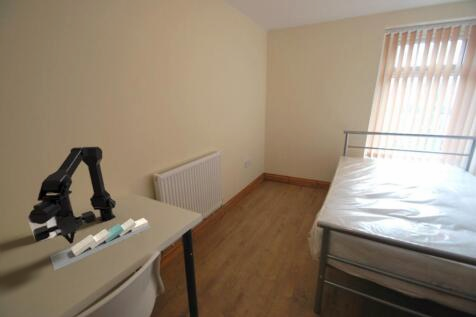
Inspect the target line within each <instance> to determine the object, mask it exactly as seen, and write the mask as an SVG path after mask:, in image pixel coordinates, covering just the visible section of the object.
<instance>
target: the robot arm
mask: <svg viewBox="0 0 476 317" xmlns="http://www.w3.org/2000/svg"><path fill="white" fill-rule="evenodd" d="M102 160H103V150H102V148H101V147H99V146H83V147H82V146H79V147H77V146H76V147H72V148H71V149H70V152H69V154H68V155H67V157H66V158H65V159H64V161H63V162H62V164H61V165H60V166H59V167H58V169H57V170H56V171H55V172H52V173H50V174H49V175H48V176H46V178H45V179H44V180H43V181H42V182H41V186H40V189H39V192H38V196H37V201H38V202H39V203H36V204H35V205H33V209H32V210H31V211H30V212H29V215H28V216H29V217H30V219H31V220H32V221H33V222H34V223H37V224H44V223H46V222H47V221H49V220H50V219H51V218H53V217H54V218H55V221H56V226H53V227H50V228H47V225H45V226H42V227H39V228H36V229H34V231H33V233H34V236H33V238H34V237H35V239H34V240H35V242H37V243H38V242H39V241H40V242H42V241H41V240H44V239H47V238H48V237H49V236H50V234H49V233H51V232H54V231H55V232H56V235H55V236H57V237H60V236H62V237H63V238H64V239H65V240H66V241H67V242H69V244H74V240H75V234H76V232H78V230H79V229H80V228H81V227H82V226H83V225H84V223H85V224H87V225H89V224H91V223H94V222H96V221H97V218H96V214H95V213H94V211H99V215H100V216H98V219H99V221H100V222H101V223H105V222H108V221H110V220H113V219H116V218H117V217H116V215H115V214H114V212H113V209H115V208H116V204H117V203H116V200H114V199H112V197H111V194H110V193H109V192H108V191H107V190H106V188H105V183H104V182H105V181H104V178H103V173H102V168H101V161H102ZM82 162H83V163H84V164H85V165H86V166H87V170H88V173H89V178H90V182H91V186H92V191H93V194H92V196H91V197H90V198H89V201H90V206H92V209H93V210H94V211H92V210H89V211H85V212H82V213H80V216H76V215H75V214H74V211H73V206H72V201H71V198H70V194H73V190H70V188H71V186H72V183H73V180H72V176H73V175H74V174H75V172H76V171H77V169H78V168H79V165H80V164H81V163H82ZM33 233H32V234H33ZM47 240H48V239H47ZM44 241H45V240H44Z"/></svg>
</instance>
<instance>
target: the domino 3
mask: <svg viewBox="0 0 476 317" xmlns="http://www.w3.org/2000/svg"><path fill="white" fill-rule="evenodd" d="M107 231H108V233H109V234H110V235H111V236H110V237H109V238H107V239H106V240H105V241H106V242H107V243H108V242H109V241H110V240H112V239H113V238H115V237H116V236H117V235H119V234H120V233H121V232H123V231H124V229H123V228H122V227H121V225H120V224H119V223H117V224H116V225H114V226H113V227H111V228H109V230H107Z"/></svg>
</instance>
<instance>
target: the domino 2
mask: <svg viewBox="0 0 476 317" xmlns="http://www.w3.org/2000/svg"><path fill="white" fill-rule="evenodd" d="M110 236H111V235H110V234H109V233H108V230H107V229H106V228H104V229H103V230H101V231H99V232H98V233H96V234H95V235H93V237H94V238H95V240H96V243H94V244H93V245H91V246H90V247H91V249H93V248H95V247H96V246H98V245H99V244H100V243H102V242H103V241H104V240H106V239H107V238H109V237H110Z"/></svg>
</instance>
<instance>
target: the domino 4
mask: <svg viewBox="0 0 476 317" xmlns="http://www.w3.org/2000/svg"><path fill="white" fill-rule="evenodd" d="M136 225H137V224H136V223H135V220H134V219H132V218H129V219H128V220H127V221H125V222H123V223H122V224H121V225H120V226H121V227H122V228H123V229H124V231H123V232H121V233H120V234H119V235H120V236H123V235H124V234H125V233H127V232H128V231H129V230H130V229H132V228H133V227H134V226H136Z"/></svg>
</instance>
